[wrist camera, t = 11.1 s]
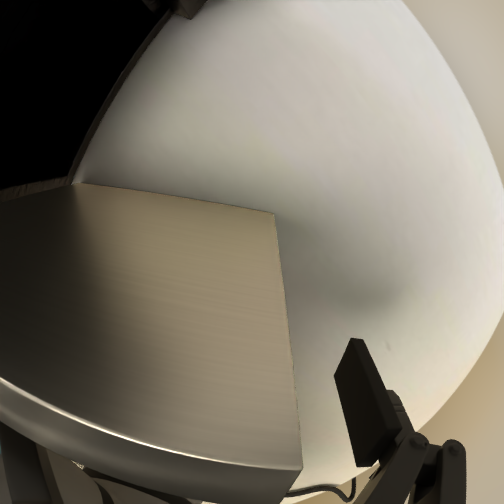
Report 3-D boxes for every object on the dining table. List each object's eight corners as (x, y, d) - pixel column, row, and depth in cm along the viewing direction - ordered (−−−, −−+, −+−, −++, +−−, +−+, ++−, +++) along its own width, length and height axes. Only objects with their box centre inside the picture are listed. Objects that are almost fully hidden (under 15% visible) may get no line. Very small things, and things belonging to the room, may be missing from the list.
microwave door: (254, 306, 22) (234, 562, 5) (77, 267, 22) (-83, 401, 5) (273, 213, 20) (305, 468, 3) (78, 182, 20) (-137, 256, 3)
